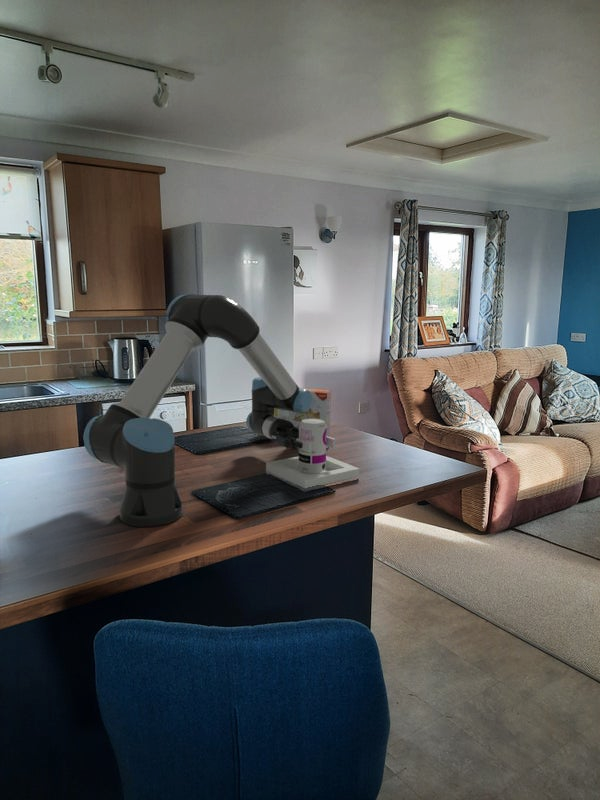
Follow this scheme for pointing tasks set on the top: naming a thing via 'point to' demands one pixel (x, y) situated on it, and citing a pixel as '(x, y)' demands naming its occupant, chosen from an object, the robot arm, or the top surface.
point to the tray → (330, 475)
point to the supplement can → (313, 445)
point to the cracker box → (315, 409)
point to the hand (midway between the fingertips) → (322, 445)
